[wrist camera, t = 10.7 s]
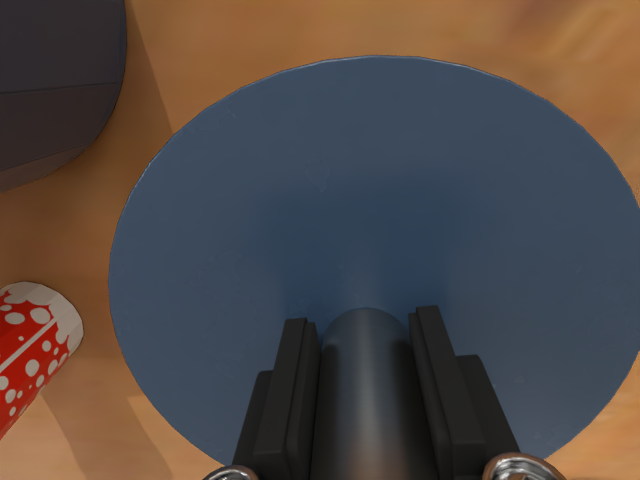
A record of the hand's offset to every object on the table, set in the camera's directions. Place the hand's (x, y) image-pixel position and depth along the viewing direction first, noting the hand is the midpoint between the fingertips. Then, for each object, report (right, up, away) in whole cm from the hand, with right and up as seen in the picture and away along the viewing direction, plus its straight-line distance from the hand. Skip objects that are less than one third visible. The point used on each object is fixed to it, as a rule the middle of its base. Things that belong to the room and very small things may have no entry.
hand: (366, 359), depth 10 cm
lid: (0, +1, +1) cm, 1 cm away
